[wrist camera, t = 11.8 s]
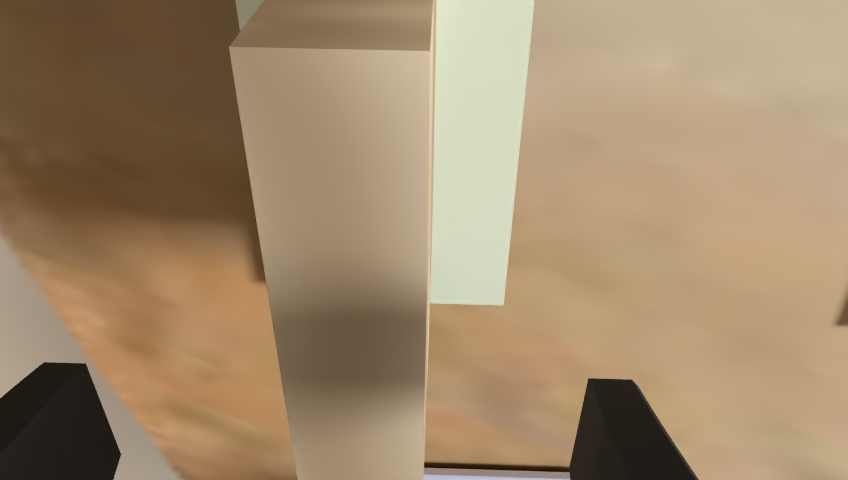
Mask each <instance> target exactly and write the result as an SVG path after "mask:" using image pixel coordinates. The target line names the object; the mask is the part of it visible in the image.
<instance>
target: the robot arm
mask: <svg viewBox="0 0 848 480" xmlns="http://www.w3.org/2000/svg"><path fill="white" fill-rule="evenodd" d="M120 456H121V453H120V451H119V448H118V446H117V443H116V440H115V438H114V435H113V433H112V430H111V427H110V425H109V422H108V420H107V417H106V415H105V412H104V409H103V407H102V404H101V402H100V399H99V397H98V394H97V392H96V389H95V386H94V384H93V381H92V379H91V376H90V374H89V371H88V368H87V366H86V364H81V363H80V364H79V363H47V362H44V363H43V364H42V365H40V366H39V367H38V368H36V369H35V370H34V371H33V372H32V373H30V374H29V375H28V376H27V377H25V378H24V379H23V380H22V381H21V382H19V383H18V384H17V385H16V386H14V387H13V388H12V389H11V390H10V391H8V392H7V393H6V394H5V395H4V396H3V397H2V398H0V480H113V479H114V475H115V472H116V469H117V466H118V462H119V459H120ZM569 471H570V472H545V471H514V470H483V469H452V468H424V480H699V479H698V478H697V477H696V475H695V474H694V472H693V471H692V469H691V468H690V466H689V465H688V463H687V462H686V460H685V459H684V457H683V456H682V454H681V453H680V451H679V450H678V448H677V447H676V446H675V444H674V443H673V441H672V439H671V438H670V436H669V435H668V433H667V432H666V430H665V429H664V427H663V426H662V424H661V422H660V421H659V419H658V418H657V416H656V415H655V413H654V411H653V410H652V408H651V407H650V405H649V403H648V402H647V400H646V398H645V397H644V395H643V394H642V392H641V390H640V389H639V387H638V386H637V385H636V384H635V383H634V382H633V380H622V379H589V378H588V383H587V388H586V392H585V397H584V402H583V407H582V411H581V416H580V421H579V425H578V430H577V435H576V439H575V444H574V449H573V454H572V458H571V463H570V468H569Z"/></svg>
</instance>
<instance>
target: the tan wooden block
mask: <svg viewBox="0 0 848 480" xmlns="http://www.w3.org/2000/svg"><path fill="white" fill-rule="evenodd" d="M436 20H437V0H264V1H263V2H262V3H261V5H260V6H259V7H258V9H257V10H256V11H255V13H254V14H253V15H252V17H251V18H250V19H249V21H248V22H247V23H246V25H245V26H244V27H243V29H242V30H241V31H240V33H239V34H238V35H237V37H236V38H235V39H234V41H233V42H232V43H231V45H230V46H229V51H230V57H231V64H232V70H233V76H234V83H235V89H236V95H237V102H238V108H239V114H240V120H241V127H242V133H243V139H244V146H245V152H246V158H247V165H248V171H249V177H250V184H251V190H252V196H253V202H254V209H255V215H256V221H257V228H258V234H259V240H260V247H261V253H262V259H263V266H264V272H265V278H266V285H267V291H268V297H269V303H270V310H271V316H272V322H273V329H274V335H275V341H276V348H277V354H278V360H279V367H280V373H281V379H282V385H283V392H284V398H285V404H286V411H287V417H288V423H289V430H290V436H291V442H292V449H293V455H294V461H295V468H296V474H297V480H424V452H425V424H426V397H427V369H428V341H429V314H430V286H431V258H432V215H433V166H434V117H435V69H436Z"/></svg>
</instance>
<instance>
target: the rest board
mask: <svg viewBox="0 0 848 480" xmlns="http://www.w3.org/2000/svg"><path fill="white" fill-rule="evenodd" d="M235 1H236V8H237V15H238V22H239V28H240V31H241V30H242V29H243V27H244V26H245V25H246V23H247V22H248V21H249V19H250V18H251V17H252V15H253V14H254V13H255V11H256V10H257V9H258V7H259V6H260V5H261V3H262V2H263V1H264V0H235ZM533 10H534V0H437V20H436V69H435V117H434V166H433V215H432V258H431V286H430V303H439V304H475V305H504V295H505V286H506V276H507V266H508V256H509V246H510V236H511V227H512V217H513V207H514V197H515V187H516V177H517V168H518V158H519V148H520V138H521V128H522V118H523V109H524V99H525V89H526V79H527V69H528V59H529V50H530V40H531V30H532V20H533Z"/></svg>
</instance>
